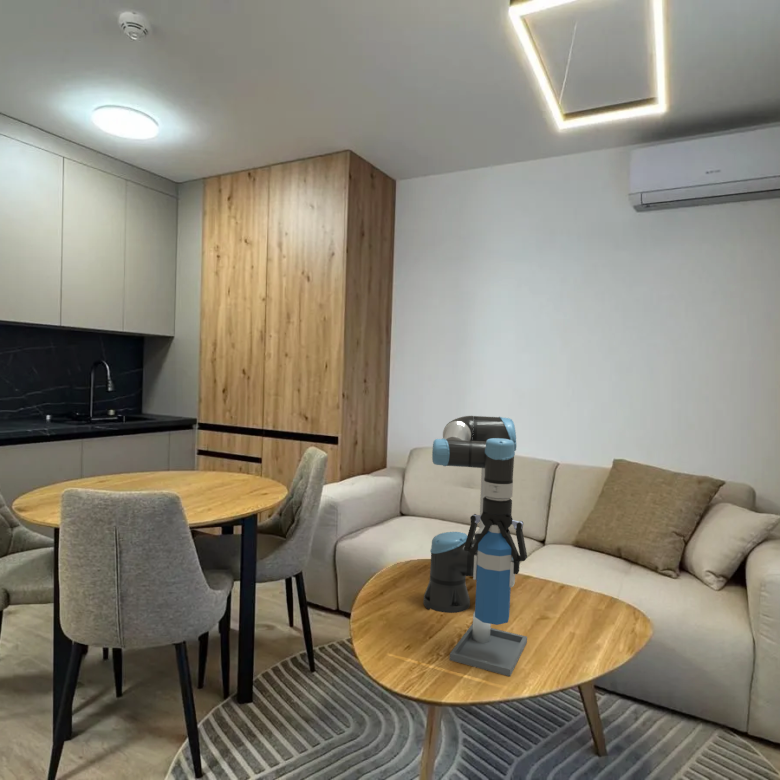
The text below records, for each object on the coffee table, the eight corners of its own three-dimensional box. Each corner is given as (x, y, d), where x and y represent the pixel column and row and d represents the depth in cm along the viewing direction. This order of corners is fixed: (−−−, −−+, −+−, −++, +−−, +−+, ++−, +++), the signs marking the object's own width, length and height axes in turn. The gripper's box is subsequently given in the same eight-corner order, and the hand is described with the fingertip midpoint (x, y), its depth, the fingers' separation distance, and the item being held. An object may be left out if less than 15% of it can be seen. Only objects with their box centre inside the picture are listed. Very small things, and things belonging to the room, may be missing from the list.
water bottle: (470, 609, 152) (474, 518, 151) (504, 609, 153) (508, 519, 152) (479, 624, 143) (483, 528, 142) (514, 624, 144) (519, 529, 143)
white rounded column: (469, 640, 157) (471, 616, 157) (475, 633, 162) (476, 609, 161) (487, 644, 155) (488, 620, 155) (492, 637, 159) (493, 613, 159)
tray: (449, 662, 146) (449, 653, 146) (472, 631, 164) (472, 623, 164) (510, 679, 139) (510, 669, 139) (526, 645, 157) (527, 636, 157)
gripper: (453, 494, 148) (450, 578, 149) (536, 506, 139) (532, 595, 140) (462, 489, 155) (459, 569, 156) (542, 500, 146) (538, 585, 146)
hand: (493, 581), depth 148 cm, fingers closed on water bottle, 9 cm apart
